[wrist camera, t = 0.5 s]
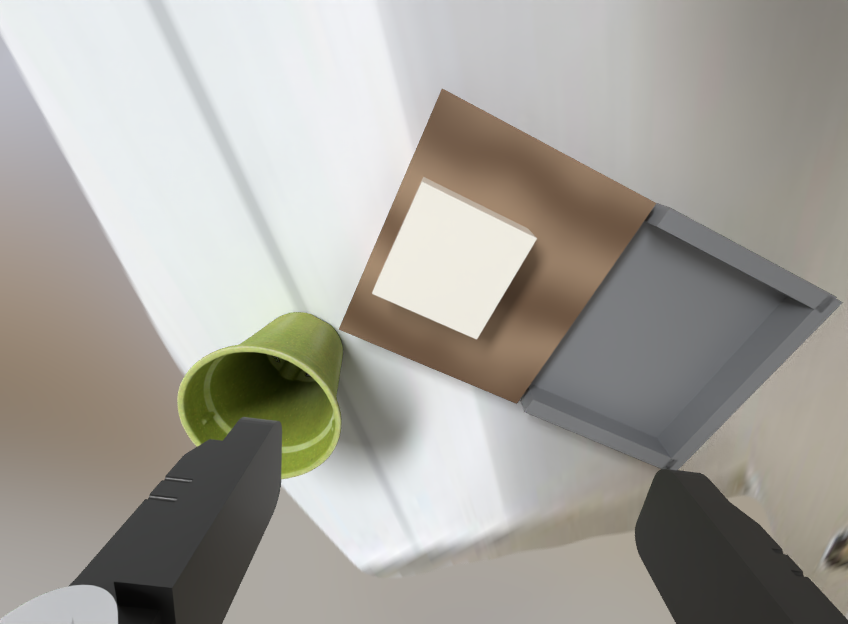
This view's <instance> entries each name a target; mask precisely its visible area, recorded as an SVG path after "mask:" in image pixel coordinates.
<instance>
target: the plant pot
mask: <svg viewBox="0 0 848 624" xmlns="http://www.w3.org/2000/svg"><path fill="white" fill-rule="evenodd" d="M273 356H276V357H278V359H279V361H280V362H277V361H276V360H275V359H274V357H273ZM342 357H343V347H342V343H341V340H340V338H339V336H338V334H337V332H336V331H335V330H334V328H333V327H332V326H331V325H329V324H328V323H326V322H324V321H322V320H320V319H318V318H317V317H315V316H313V315H312V314H308V313H301V312H294V313H288V314H285V315H282V316H280V317H278V318H277V319H275V320H274V321H272V322H271V323H269V324H268V325H267V326H265V327H264V328H262V329H261V330H260V331H258V332H257V333H256V334H254V335H253V336H251V337H250V338H248V339H247V340H245V341H244V342H242V343H241V344H239V345H235V346H230V347H226V348H223V349H220V350H217V351H215V352H212V353H210V354H209V355H207V356H205V357H203V358H202V359H201V360H199V361H198V362H197V363H195V364H194V365H193V366H192V367H191V368H190V369H189V371H188V372H187V373H186V375H185V377H184V378H183V380H182V382H181V384H180V387H179V391H178V398H177V401H178V402H177V403H178V411H179V417H180V420H181V423H182V425H183V427H184V429H185V431H186V433H187V434H188V436H189V438H190V439H191V441H192V442H193V443H194V444H195V445H196V446H197V447H198V446H199V445H201V444H202V443H204V442H206V441H207V440H209V439H213V440H221V441H223V440H224V438H225V437H226V436H227V435H228V433H229V432H230V431H231V429H232V428H233V427H234V426H235V424H236V423H237V422H238V420H239V419H241V418H242V417H249V418H257V419H265V420H274V421H280V422H281V425H282V465H281V479H286V478H291V477H296V476H299V475H302V474H305V473H308V472H309V471H311V470H313V469H315V468H316V467H318V466H319V465H321V464H322V463H323V462H324V461H325V460H326V459H327V458H328V457H329V456H330V455H331V454H332V452H333V450H334V449H335V447H336V445H337V443H338V440H339V436H340V432H341V412H340V408H339V405H338V402H337V398H336V395H337V388H338V383H339V376H340V370H341V364H342ZM306 373H308V374H309V375H310V376H311V377H308V376H305V374H306Z"/></svg>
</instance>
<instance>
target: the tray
mask: <svg viewBox="0 0 848 624" xmlns="http://www.w3.org/2000/svg"><path fill="white" fill-rule="evenodd" d="M836 298H837V297H836V296H834V295H832V294H830V293H828V292H826V291H824V290H823V289H821V288H819V287H817V286H815V285H813V284H811V283H810V282H808V281H806V280H804V279H802V278H800V277H798V276H797V275H795V274H793V273H791V272H789V271H787V270H785V269H784V268H782V267H780V266H778V265H776V264H774V263H772V262H770V261H769V260H767V259H765V258H763V257H761V256H759V255H757V254H756V253H754V252H752V251H750V250H748V249H746V248H744V247H743V246H741V245H739V244H737V243H735V242H733V241H731V240H730V239H728V238H726V237H724V236H722V235H720V234H718V233H717V232H715V231H713V230H711V229H709V228H707V227H705V226H703V225H702V224H700V223H698V222H696V221H694V220H692V219H690V218H689V217H687V216H685V215H683V214H681V213H679V212H677V211H676V210H674V209H672V208H670V207H667V206H664V205H661V204H658V203H656V205H655V206H654V207H653V209H652V210H651V212H650V213H649V215H648V216H647V218H646V219H645V220H644V222H643V223H642V225H641V226H640V228H639V229H638V230H637V232H636V233H635V235H634V236H633V238H632V239H631V241H630V242H629V243H628V245H627V246H626V248H625V249H624V251H623V252H622V253H621V255H620V256H619V258H618V259H617V261H616V262H615V263H614V265H613V266H612V268H611V269H610V271H609V272H608V274H607V275H606V276H605V278H604V279H603V281H602V282H601V284H600V285H599V286H598V288H597V289H596V291H595V292H594V294H593V295H592V297H591V298H590V299H589V301H588V302H587V304H586V305H585V307H584V308H583V309H582V311H581V312H580V314H579V315H578V317H577V318H576V319H575V321H574V322H573V324H572V325H571V327H570V328H569V330H568V331H567V332H566V334H565V335H564V337H563V338H562V340H561V341H560V342H559V344H558V345H557V347H556V348H555V350H554V351H553V353H552V354H551V355H550V357H549V358H548V360H547V361H546V363H545V364H544V365H543V367H542V368H541V370H540V371H539V373H538V374H537V375H536V377H535V378H534V380H533V381H532V383H531V384H530V386H529V387H528V388H527V390H526V391H525V393H524V394H523V396H522V397H521V398H520V399H521V402H522V405H523V409H524V412H526V413H528V414H531V415H533V416H535V417H538V418H540V419H543V420H545V421H547V422H550V423H552V424H555V425H557V426H559V427H562V428H564V429H567V430H569V431H572V432H574V433H576V434H579V435H581V436H584V437H586V438H588V439H591V440H593V441H596V442H598V443H600V444H603V445H605V446H608V447H610V448H612V449H615V450H617V451H620V452H622V453H624V454H627V455H629V456H632V457H634V458H636V459H639V460H641V461H644V462H646V463H648V464H651V465H653V466H656V467H658V468H661V469H670V470H678V469H679V468H680V467H681V466H682V465H683V464H684V463H685V462H686V461H687V460H688V459H689V458H690V457H691V456H692V455H693V454H694V453H695V452H696V451H697V450H698V449H699V448H700V447H701V446H702V445H703V444H704V443H705V442H706V441H707V440H708V439H709V438H710V437H711V436H712V435H713V434H714V433H715V432H716V431H717V430H718V429H719V428H720V427H721V426H722V425H723V424H724V423H725V421H726V420H727V419H728V418H729V417H730V416H731V415H732V414H733V413H734V412H735V411H736V410H737V409H738V408H739V407H740V406H741V405H742V404H743V403H744V402H745V401H746V400H747V399H748V398H749V397H750V396H751V395H752V394H753V393H754V392H755V391H756V390H757V389H758V388H759V387H760V386H761V385H762V384H763V383H764V382H765V381H766V380H767V379H768V378H769V377H770V376H771V375H772V374H773V373H774V372H775V371H776V370H777V369H778V368H779V367H780V366H781V365H782V364H783V363H784V362H785V361H786V360H787V359H788V358H789V356H790V355H791V354H792V353H793V352H794V351H795V350H796V349H797V348H798V347H799V346H800V345H801V344H802V343H803V342H804V341H805V340H806V339H807V338H808V337H809V336H810V335H811V334H812V333H813V332H814V331H815V330H816V329H817V328H818V327H819V326H820V325H821V324H822V323H823V322H824V321H825V320H826V319H827V318H828V317H829V316H830V315H831V314H832V313H833V312H834V311H835V310H836V309H837V308H838V307H839V306H840V305H841V304H842V303H843V302H841V301H839V300H837V299H836Z"/></svg>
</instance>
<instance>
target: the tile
mask: <svg viewBox="0 0 848 624" xmlns="http://www.w3.org/2000/svg"><path fill="white" fill-rule="evenodd" d="M536 240H537V238H536V237H535V236H534V235H533V233H532V232H531V231H530V230H529V229H528V228H526V227H524V226H522V225H520V224H518V223H516V222H514V221H512V220H510V219H508V218H506V217H504V216H502V215H500V214H498V213H496V212H494V211H492V210H490V209H488V208H486V207H484V206H482V205H480V204H478V203H476V202H473V201H471V200H469V199H467V198H465V197H463V196H461V195H459V194H457V193H455V192H453V191H451V190H449V189H447V188H445V187H443V186H441V185H439V184H437V183H435V182H433V181H431V180H429V179H427V178H425V177H423V179H422V181H421V183H420V185H419V187H418V190H417V192H416V194H415V196H414V199H413V201H412V203H411V205H410V208H409V210H408V212H407V214H406V217H405V219H404V221H403V223H402V225H401V228H400V230H399V232H398V234H397V237H396V239H395V241H394V243H393V246H392V248H391V250H390V252H389V255H388V257H387V259H386V261H385V263H384V266H383V268H382V270H381V272H380V275H379V277H378V279H377V282H376V284H375V287H374V289H373V292H372V294H374V295H376V296H378V297H381V298H383V299H385V300H388V301H390V302H392V303H394V304H397V305H399V306H401V307H404V308H406V309H408V310H410V311H413V312H415V313H417V314H419V315H422V316H424V317H426V318H429V319H431V320H433V321H435V322H438V323H440V324H442V325H445V326H447V327H449V328H451V329H454V330H456V331H458V332H461V333H463V334H465V335H467V336H470V337H472V338H474V339H477V338H478V337H479V335H480V333H481V332H482V330H483V328H484V327H485V325H486V323H487V322H488V320H489V318H490V317H491V315H492V313H493V312H494V310H495V308H496V307H497V305H498V303H499V302H500V300H501V298H502V297H503V295H504V293H505V292H506V290H507V288H508V286H509V285H510V283H511V281H512V280H513V278H514V276H515V275H516V273H517V271H518V270H519V268H520V266H521V265H522V263H523V261H524V260H525V258H526V256H527V255H528V253H529V251H530V250H531V248H532V246H533V245H534V243H535V241H536Z"/></svg>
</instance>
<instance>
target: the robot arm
mask: <svg viewBox="0 0 848 624" xmlns="http://www.w3.org/2000/svg"><path fill="white" fill-rule="evenodd" d="M281 465H282V425H281V422H280V421H274V420H265V419H257V418H249V417H242V418H241V419H239V420H238V422H237V423H236V424H235V426H234V427H233V428H232V429H231V431H230V432H229V433H228V435H227V436H226V437H225V438H224V440H223V441H221V440H213V439H209V440H207V441H206V442H204V443H202V444H201V445H199V446H198V447H196V448H195V449H193V450H191V451H190V452H188V453H186V454H185V455H184V456H183V457H182V458H181V459H180V460H179V461H178V463H177V464H176V465H175V466H174V467H173V468H172V469H171V471H170V472H169V473H168V474H167V475H166V477H165V480H164V481H161V482H160V483H159V484H158V485H157V487H156V488H155V489H154V490H153V491H152V492H151V493H150V496H149V498H148V499H145V500H144V501H143V503H142V504H141V505H140V506H139V507H138V508H137V510H136V511H135V512H134V513H133V514H132V515H131V516H130V517H129V519H128V520H127V521H126V522H125V523H124V524H123V525H122V527H121V528H120V529H119V530H118V531H117V532H116V533H115V535H114V536H113V537H112V538H111V539H110V540H109V541H108V543H107V544H106V545H105V546H104V547H103V548H102V549H101V551H100V552H99V553H98V554H97V555H96V556H95V557H94V559H93V560H92V561H91V562H90V563H89V564H88V566H87V567H86V568H85V569H84V570H83V571H82V572H81V574H80V575H79V576H78V577H77V578H76V579H75V580H74V581H73V582H72V583H71V584H70V585H69V586H68V587H63V588H59V589H56V590H53V591H50V592H47V593H45V594H42V595H40V596H37V597H35V598H33V599H31V600H29V601H27V602H26V603H24V604H22V605H20V606H19V607H17V608H15V609H14V610H12V611H11V612H9V613H8V614H6V615H5V616H4V617H2V618H1V619H0V624H222V623H223V620H224V618H225V616H226V614H227V612H228V610H229V607H230V605H231V603H232V601H233V599H234V596H235V595H236V592H237V590H238V588H239V586H240V584H241V581H242V579H243V577H244V575H245V573H246V571H247V569H248V567H249V564H250V562H251V560H252V558H253V556H254V554H255V551H256V549H257V547H258V545H259V543H260V541H261V539H262V536H263V534H264V532H265V530H266V528H267V526H268V523H269V521H270V519H271V517H272V515H273V512H274V510H275V507H276V504H277V501H278V497H279V492H280V487H281ZM635 540H636V546H637V550H638V553H639V555H640V557H641V559H642V561H643V563H644V565H645V566H646V569H647V570H648V572H649V574H650V576H651V578H652V580H653V582H654V583H655V585H656V587H657V589H658V591H659V592H660V595H661V596H662V598H663V600H664V602H665V604H666V606H667V608H668V609H669V611H670V613H671V615H672V617H673V619H674V620H675V622H676V624H848V620H847V619H846V618H845V617H844V615H843V614H842V613H841V612H840V611H839V610H838V609H837V608H836V607H835V606H834V605H833V604H832V602H831V601H830V600H829V599H828V598H827V597H826V596H825V595H824V594H823V593H822V592H821V591H820V590H819V588H818V587H817V586H816V585H815V584H814V583H813V582H812V581H811V580H810V579H809V578H808V577H804V576H803V571H802V570H801V569H800V568H799V567H798V566H797V565H796V564H795V563H794V561H793V560H792V559H791V558H790V557H789V556H788V555H784V554H783V552H782V548H781V547H780V546H779V545H778V544H777V543H776V542H775V541H774V540H773V539H772V538H771V537H770V535H769V534H767V532H766V531H765V530H764V529H763V528H762V527H761V526H760V525H759V524H758V523H757V522H755V521H754V520H753V519H751V518H750V517H749V516H747V515H746V514H745V513H743V512H742V511H741V510H739V509H738V508H737V507H736V506H734V505H733V504H732V503H730V502H729V501H728V500H727V499H726V498H725V496H724V495H723V494H722V493H721V492H720V491H719V490H718V489H717V487H716V486H715V485H714V484H713V483H712V482H711V481H710V480H709V479H708V478H707V477H706V476H705V475H703V474H701V473H695V472H687V471H678V470H670V469H661V470H659V471H658V472H657V473H656V475H655V477H654V479H653V482H652V484H651V487H650V489H649V492H648V494H647V497H646V500H645V502H644V505H643V507H642V510H641V512H640V515H639V518H638V520H637V523H636V527H635Z"/></svg>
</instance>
